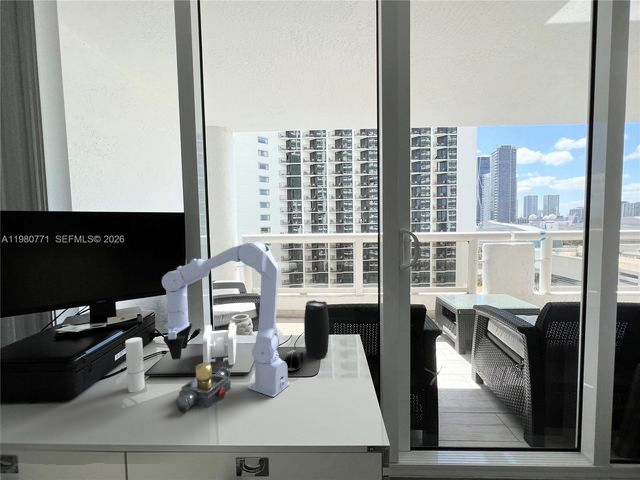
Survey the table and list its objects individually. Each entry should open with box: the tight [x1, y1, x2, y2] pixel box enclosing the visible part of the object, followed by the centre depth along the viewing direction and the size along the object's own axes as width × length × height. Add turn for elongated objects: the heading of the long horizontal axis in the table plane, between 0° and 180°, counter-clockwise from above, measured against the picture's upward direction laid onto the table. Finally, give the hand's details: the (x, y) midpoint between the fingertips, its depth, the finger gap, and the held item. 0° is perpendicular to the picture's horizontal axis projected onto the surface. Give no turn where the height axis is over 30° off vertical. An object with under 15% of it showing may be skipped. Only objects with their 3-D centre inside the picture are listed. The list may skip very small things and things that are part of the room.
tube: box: [125, 337, 146, 393], centre depth 96 cm, size 4×4×15 cm
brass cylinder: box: [195, 362, 213, 390], centre depth 92 cm, size 4×4×6 cm
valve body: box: [175, 366, 232, 414], centre depth 92 cm, size 18×11×4 cm, turn 160°
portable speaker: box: [303, 300, 330, 360], centre depth 117 cm, size 9×9×20 cm
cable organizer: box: [202, 322, 238, 366], centre depth 114 cm, size 15×11×12 cm
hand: (179, 353), depth 97 cm, fingers open, 7 cm apart
